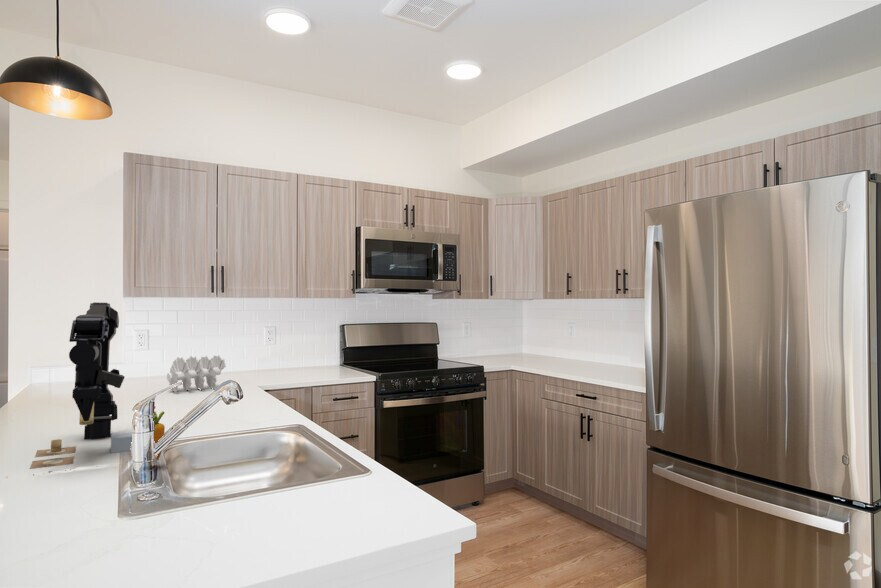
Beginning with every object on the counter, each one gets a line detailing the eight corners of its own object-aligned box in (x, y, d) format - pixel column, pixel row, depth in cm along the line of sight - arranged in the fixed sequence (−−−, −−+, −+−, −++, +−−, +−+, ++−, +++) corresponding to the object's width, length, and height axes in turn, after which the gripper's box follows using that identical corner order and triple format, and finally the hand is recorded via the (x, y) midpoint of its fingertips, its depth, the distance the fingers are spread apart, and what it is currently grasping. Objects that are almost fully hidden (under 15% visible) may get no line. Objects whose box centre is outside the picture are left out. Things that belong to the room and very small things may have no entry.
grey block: (134, 448, 155) (135, 431, 155) (135, 453, 150) (136, 436, 150) (110, 451, 152) (111, 434, 152) (110, 456, 147) (111, 438, 147)
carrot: (167, 465, 140) (169, 408, 140) (155, 470, 135) (157, 411, 135) (150, 464, 140) (151, 407, 141) (137, 469, 136) (139, 411, 136)
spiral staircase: (165, 400, 258) (215, 392, 276) (178, 388, 247) (229, 381, 265) (158, 365, 263) (208, 360, 281) (170, 352, 252) (221, 347, 271)
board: (75, 449, 153) (76, 435, 154) (74, 456, 147) (75, 441, 147) (37, 454, 149) (37, 439, 149) (34, 461, 142) (34, 445, 142)
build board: (74, 459, 143) (74, 455, 143) (73, 467, 137) (73, 463, 137) (32, 464, 138) (32, 460, 138) (29, 472, 132) (29, 468, 132)
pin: (93, 421, 145) (94, 400, 146) (93, 424, 143) (94, 401, 143) (79, 423, 144) (80, 401, 144) (79, 425, 141) (79, 402, 141)
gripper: (124, 364, 140) (122, 423, 140) (121, 358, 156) (120, 411, 155) (73, 365, 134) (71, 427, 134) (76, 359, 150) (74, 414, 149)
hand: (86, 419), depth 143 cm, fingers closed on pin, 3 cm apart
